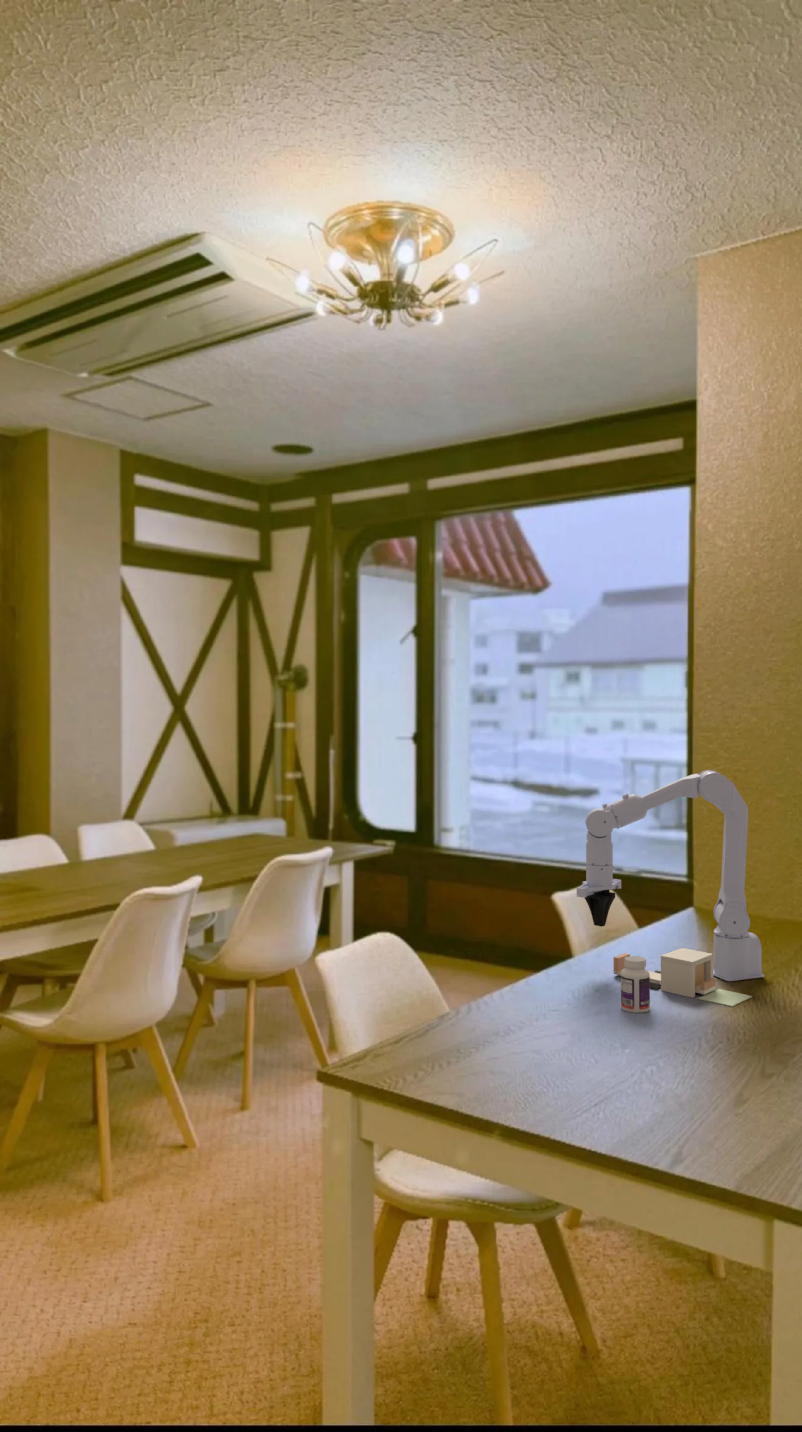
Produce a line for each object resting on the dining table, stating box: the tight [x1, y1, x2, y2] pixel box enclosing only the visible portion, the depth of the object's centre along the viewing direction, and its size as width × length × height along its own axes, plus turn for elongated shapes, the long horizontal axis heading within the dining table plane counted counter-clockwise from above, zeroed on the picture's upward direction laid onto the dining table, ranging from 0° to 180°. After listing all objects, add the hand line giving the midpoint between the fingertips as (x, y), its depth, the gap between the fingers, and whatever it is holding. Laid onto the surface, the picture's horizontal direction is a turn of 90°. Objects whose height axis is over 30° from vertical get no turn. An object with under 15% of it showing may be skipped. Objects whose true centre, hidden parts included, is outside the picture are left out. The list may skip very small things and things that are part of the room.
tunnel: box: [660, 947, 714, 998], centre depth 195 cm, size 9×7×7 cm
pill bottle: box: [620, 955, 651, 1014], centre depth 183 cm, size 5×5×10 cm
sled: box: [613, 952, 717, 996], centre depth 199 cm, size 5×21×5 cm, turn 45°
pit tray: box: [650, 969, 661, 990], centre depth 200 cm, size 9×5×1 cm, turn 135°
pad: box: [698, 988, 753, 1008], centre depth 189 cm, size 9×7×1 cm
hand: (599, 925), depth 210 cm, fingers closed
